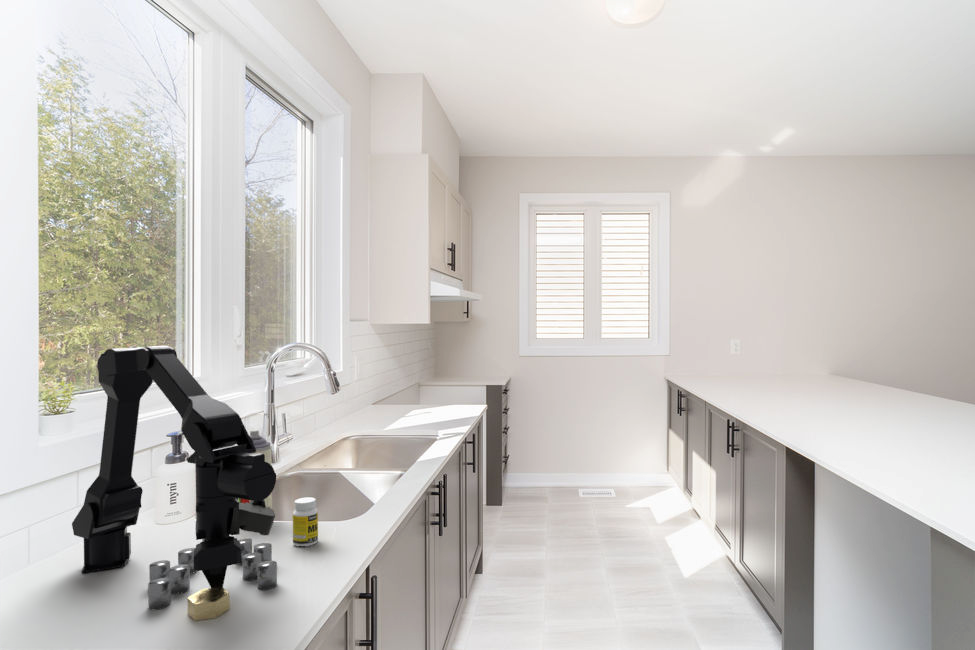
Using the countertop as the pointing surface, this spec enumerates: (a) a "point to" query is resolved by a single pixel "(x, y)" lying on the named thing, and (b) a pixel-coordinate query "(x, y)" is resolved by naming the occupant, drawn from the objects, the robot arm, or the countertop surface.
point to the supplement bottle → (305, 522)
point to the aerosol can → (265, 449)
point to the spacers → (179, 576)
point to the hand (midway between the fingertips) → (217, 592)
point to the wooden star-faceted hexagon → (208, 603)
